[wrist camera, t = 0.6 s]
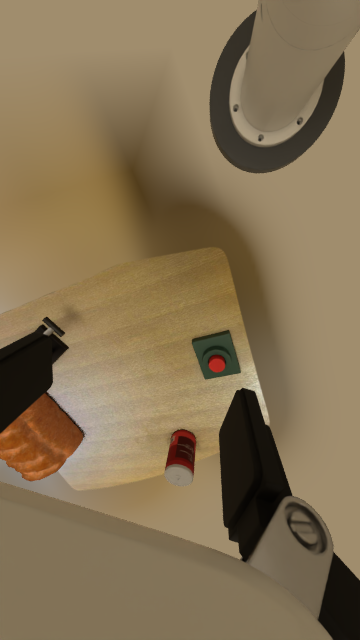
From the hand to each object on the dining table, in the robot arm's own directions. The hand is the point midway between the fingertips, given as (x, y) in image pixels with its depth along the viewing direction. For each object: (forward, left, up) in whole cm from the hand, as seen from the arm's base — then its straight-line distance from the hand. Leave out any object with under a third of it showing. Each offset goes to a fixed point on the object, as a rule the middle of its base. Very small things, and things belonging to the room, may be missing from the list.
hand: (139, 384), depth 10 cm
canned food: (+50, +9, -36) cm, 63 cm away
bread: (+57, -35, -36) cm, 76 cm away
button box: (+18, +10, -36) cm, 42 cm away
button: (+18, +10, -33) cm, 39 cm away
